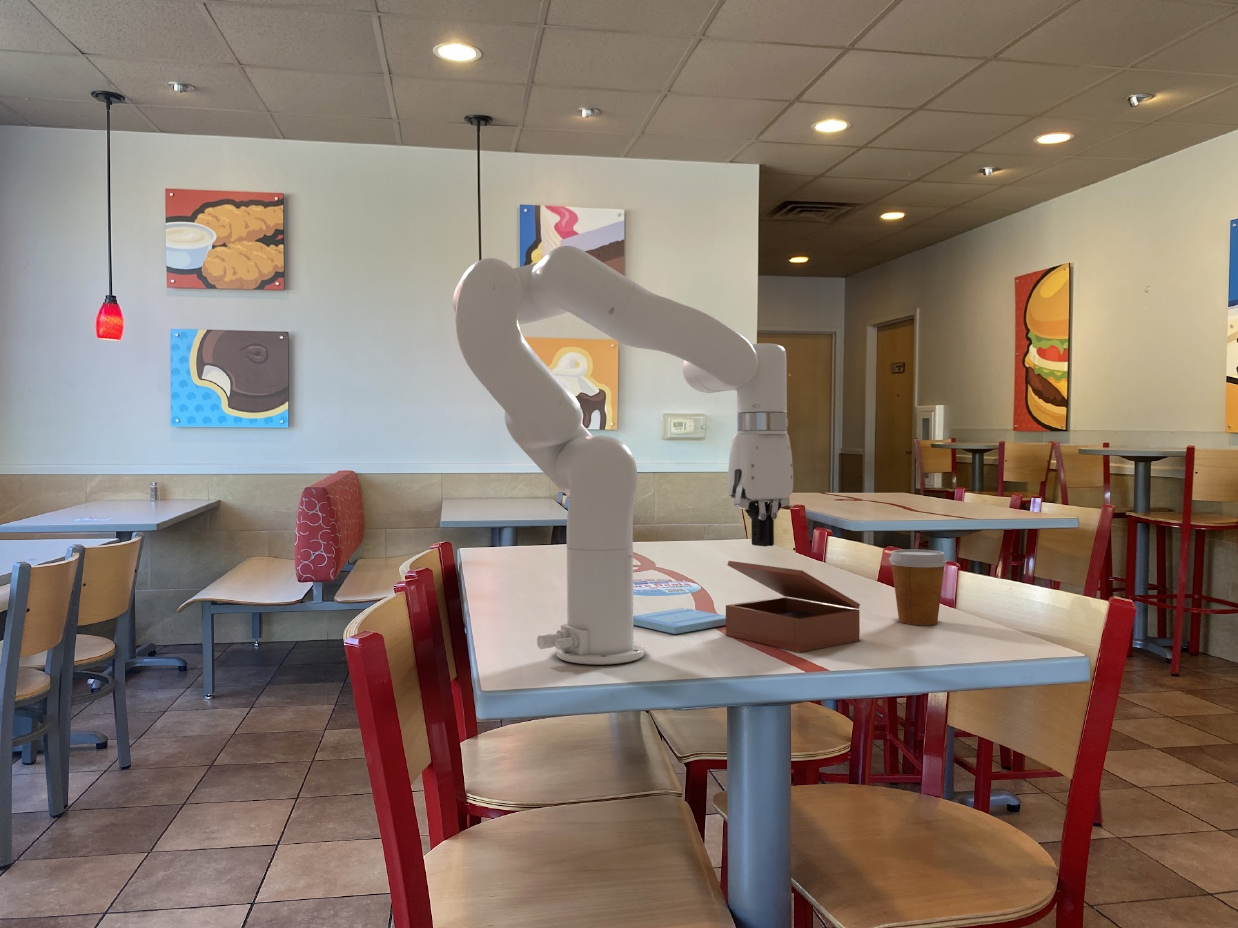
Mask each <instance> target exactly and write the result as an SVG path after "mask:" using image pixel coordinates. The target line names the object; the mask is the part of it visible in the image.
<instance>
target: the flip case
mask: <svg viewBox="0 0 1238 928" xmlns="http://www.w3.org/2000/svg"><path fill="white" fill-rule="evenodd" d="M796 611H799V612H805V613H810V614H816V615H815V616H809V617H803V618H795V617H790V616H785V615H780V614H784V613H790V612H796ZM725 616H726V625H725V636H729V637H732V638H736V639H741V640H744V641H745V640H746V641H748V642H749V641H750V642H753V643H758V644H763V645H767V646H769V647H770V646H771V647H775V648H779V649H782V650H788V651H792V652H796V653H803V652H809V651H815V650H819V649H823V648H828V647H833V646H838V645H843V644H849V643H854V642H857V641H858V642H860V640H861V639H860V638H861V636H860V635H861V634H860V628H861V627H860V621H861V619H860V618H861V617H860V608H859V609H856V608H850V607H844V606H838V605H833V604H827V603H821V602H815V601H809V600H803V599H797V598H791V597H785V596H781V597H775V598H774V597H773V598H767V599H759V600H752V601H746V602H739V603H732V604H725Z"/></svg>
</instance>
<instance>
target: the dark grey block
mask: <svg viewBox="0 0 1238 928" xmlns="http://www.w3.org/2000/svg"><path fill="white" fill-rule="evenodd" d="M780 615H785V616H790V617H795V618H803V617H809V616H815V615H816V614H810V613H805V612H799V611H796V612H790V613H784V614H780Z"/></svg>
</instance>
